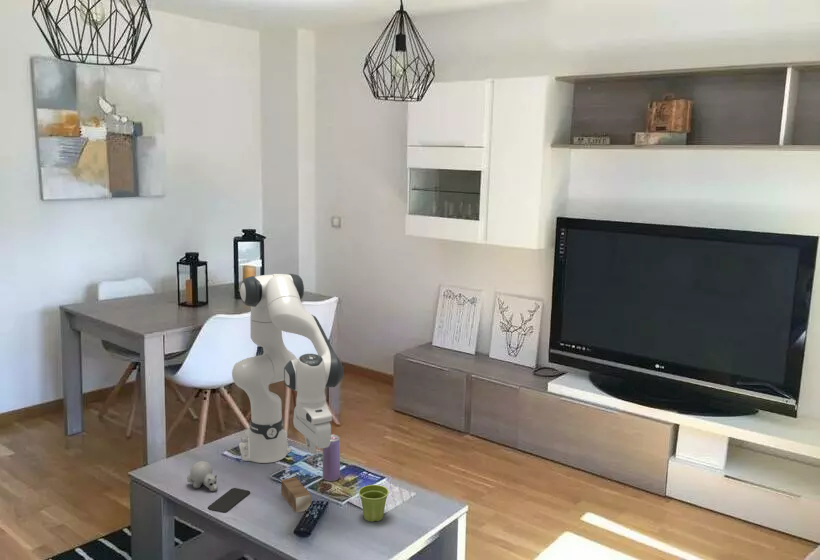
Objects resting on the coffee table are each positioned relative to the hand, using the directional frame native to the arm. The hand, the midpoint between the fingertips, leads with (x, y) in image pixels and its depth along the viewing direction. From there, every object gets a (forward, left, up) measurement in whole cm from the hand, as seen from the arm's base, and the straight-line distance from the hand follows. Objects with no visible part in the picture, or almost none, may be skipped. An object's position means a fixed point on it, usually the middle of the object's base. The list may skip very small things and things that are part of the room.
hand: (311, 451), depth 218 cm
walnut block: (-6, 0, -20) cm, 21 cm away
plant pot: (+7, +18, -23) cm, 30 cm away
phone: (-24, -19, -23) cm, 38 cm away
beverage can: (-24, +17, -23) cm, 37 cm away
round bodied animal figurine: (-36, -24, -23) cm, 49 cm away
